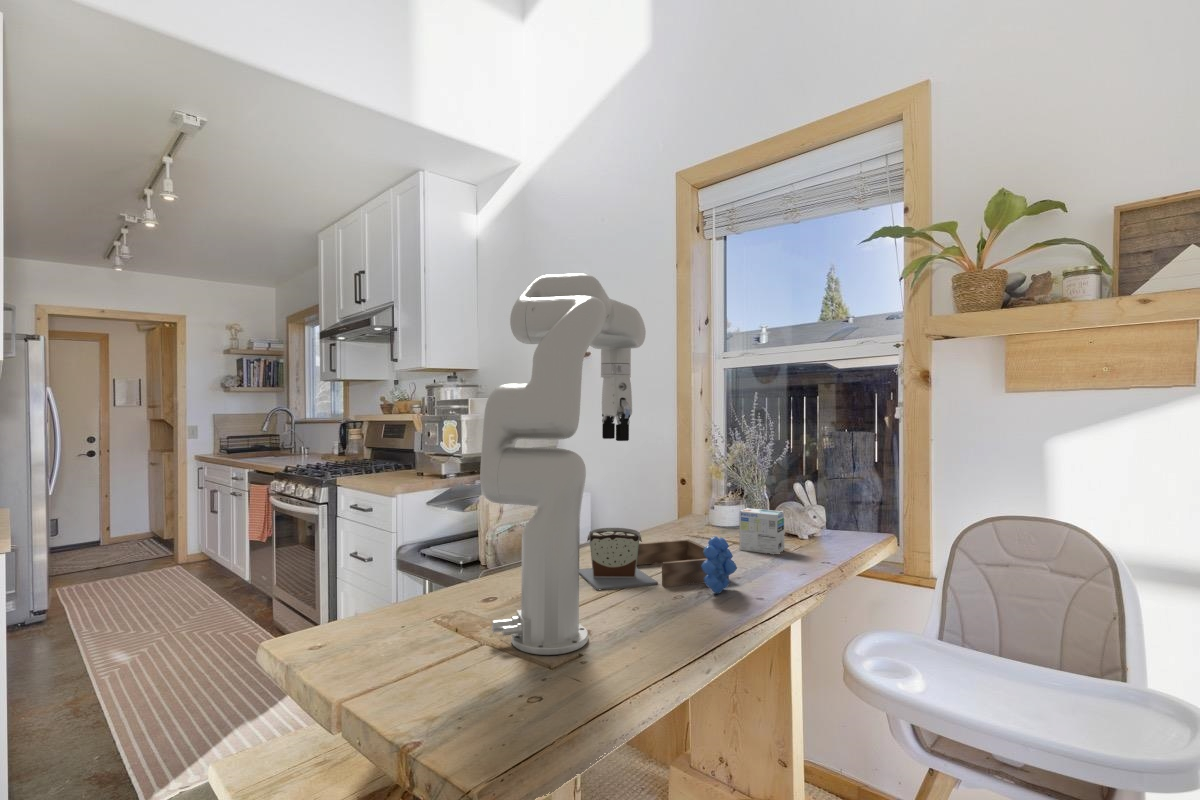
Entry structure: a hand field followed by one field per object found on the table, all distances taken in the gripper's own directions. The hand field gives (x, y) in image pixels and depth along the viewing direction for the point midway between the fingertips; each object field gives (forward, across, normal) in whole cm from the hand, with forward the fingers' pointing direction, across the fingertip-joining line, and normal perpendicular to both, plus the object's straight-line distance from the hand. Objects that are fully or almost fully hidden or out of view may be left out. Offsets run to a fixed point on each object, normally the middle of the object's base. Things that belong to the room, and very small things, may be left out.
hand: (615, 439), depth 149 cm
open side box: (+30, -14, -10) cm, 35 cm away
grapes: (+31, -32, -12) cm, 45 cm away
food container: (+30, -13, +5) cm, 33 cm away
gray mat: (+30, -14, +5) cm, 34 cm away
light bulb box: (+31, -2, -42) cm, 52 cm away
